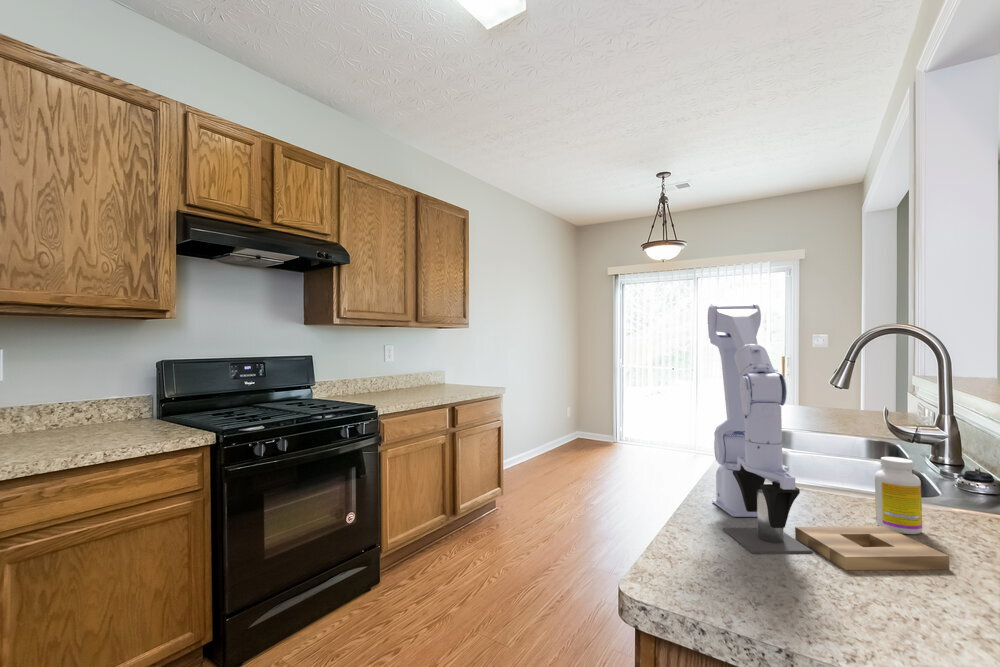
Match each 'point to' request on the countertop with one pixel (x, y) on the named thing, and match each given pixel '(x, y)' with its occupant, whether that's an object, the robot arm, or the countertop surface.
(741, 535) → the mat
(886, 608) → the countertop surface
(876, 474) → the supplement bottle
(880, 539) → the holder
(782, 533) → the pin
